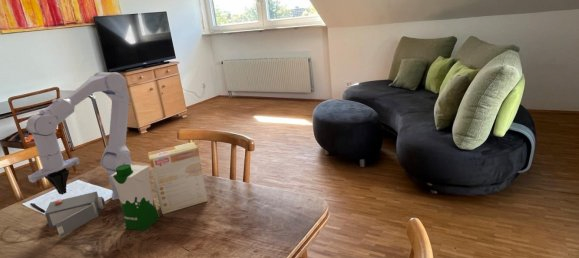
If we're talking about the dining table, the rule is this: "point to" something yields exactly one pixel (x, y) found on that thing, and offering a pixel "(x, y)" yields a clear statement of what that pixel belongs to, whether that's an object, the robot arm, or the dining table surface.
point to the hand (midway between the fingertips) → (62, 193)
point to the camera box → (71, 207)
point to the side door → (76, 219)
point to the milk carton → (135, 196)
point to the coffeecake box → (178, 177)
